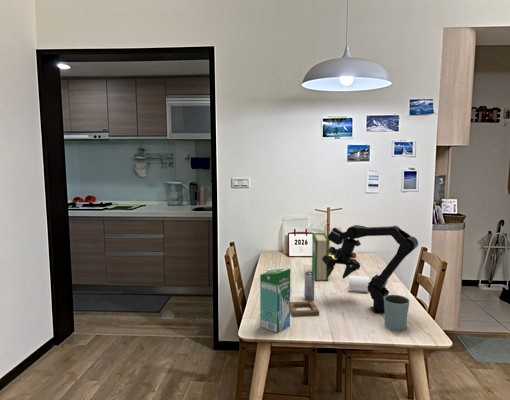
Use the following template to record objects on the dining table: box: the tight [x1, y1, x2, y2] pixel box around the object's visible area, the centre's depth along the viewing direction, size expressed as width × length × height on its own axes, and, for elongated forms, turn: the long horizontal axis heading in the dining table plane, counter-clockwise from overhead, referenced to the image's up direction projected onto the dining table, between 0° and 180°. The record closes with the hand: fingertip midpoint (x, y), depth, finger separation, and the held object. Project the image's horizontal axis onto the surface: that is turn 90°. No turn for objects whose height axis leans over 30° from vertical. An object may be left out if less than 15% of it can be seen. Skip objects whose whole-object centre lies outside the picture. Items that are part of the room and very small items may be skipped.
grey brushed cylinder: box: [304, 270, 316, 302], centre depth 198 cm, size 5×5×14 cm
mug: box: [348, 274, 370, 293], centre depth 211 cm, size 12×10×8 cm
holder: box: [290, 300, 320, 318], centre depth 184 cm, size 12×12×2 cm
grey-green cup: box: [384, 294, 410, 332], centre depth 167 cm, size 10×10×12 cm
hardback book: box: [311, 232, 330, 282], centre depth 233 cm, size 18×7×24 cm, turn 177°
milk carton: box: [259, 267, 291, 334], centre depth 166 cm, size 9×9×25 cm
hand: (335, 277), depth 196 cm, fingers open, 9 cm apart
